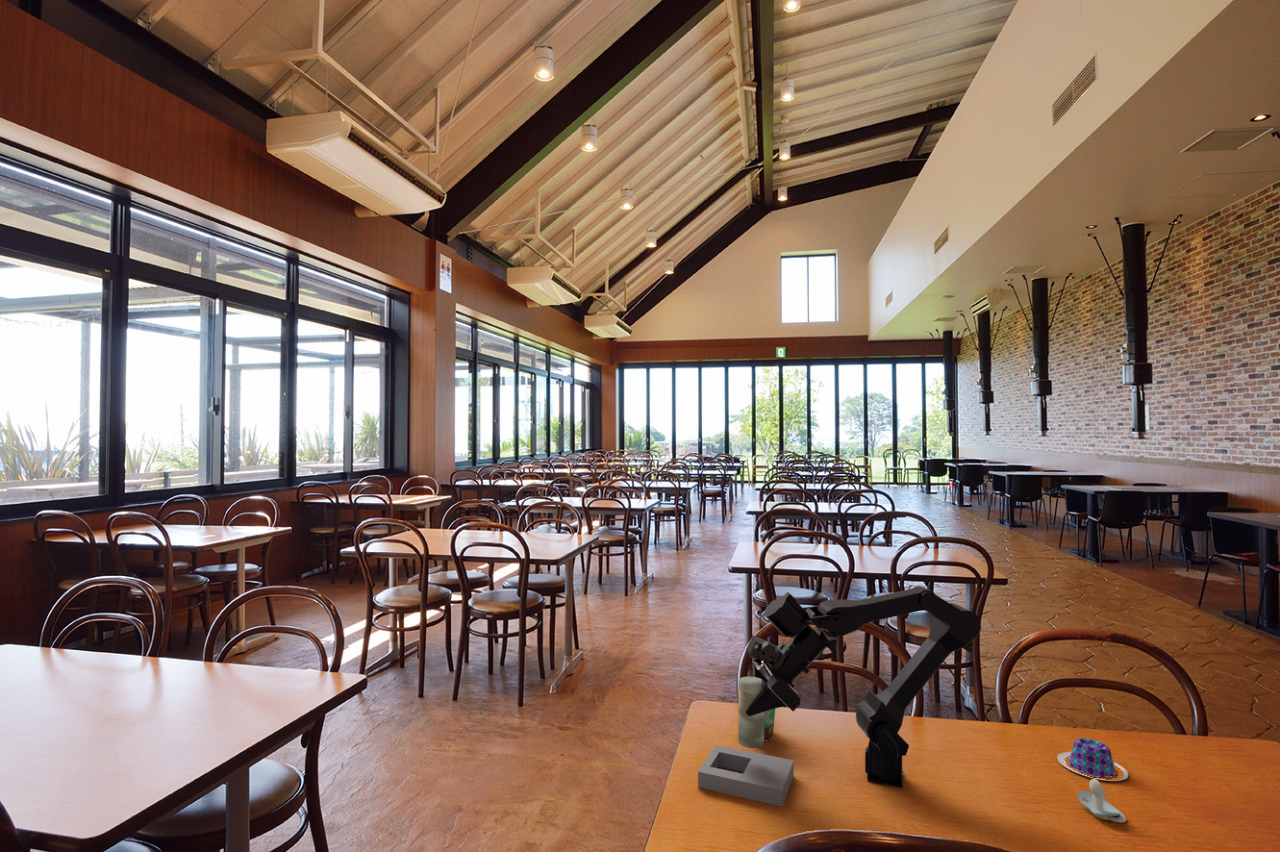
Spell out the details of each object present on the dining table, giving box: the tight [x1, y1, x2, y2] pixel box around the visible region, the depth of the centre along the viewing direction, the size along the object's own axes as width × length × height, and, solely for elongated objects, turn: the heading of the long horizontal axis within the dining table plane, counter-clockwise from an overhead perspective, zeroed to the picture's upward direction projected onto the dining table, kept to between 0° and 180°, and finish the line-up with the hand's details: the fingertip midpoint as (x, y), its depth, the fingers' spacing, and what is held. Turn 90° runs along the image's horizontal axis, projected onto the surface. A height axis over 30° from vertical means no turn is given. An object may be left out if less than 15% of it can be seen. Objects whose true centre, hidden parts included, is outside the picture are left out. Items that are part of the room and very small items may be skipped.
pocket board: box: [697, 744, 795, 808], centre depth 126 cm, size 16×12×3 cm
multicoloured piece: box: [1057, 737, 1129, 782], centre depth 134 cm, size 12×12×5 cm
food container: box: [764, 708, 776, 742], centre depth 147 cm, size 12×6×10 cm, turn 168°
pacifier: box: [1077, 778, 1127, 824], centre depth 117 cm, size 7×6×6 cm
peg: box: [737, 676, 765, 749], centre depth 128 cm, size 5×5×12 cm
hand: (744, 708), depth 128 cm, fingers closed on peg, 5 cm apart
